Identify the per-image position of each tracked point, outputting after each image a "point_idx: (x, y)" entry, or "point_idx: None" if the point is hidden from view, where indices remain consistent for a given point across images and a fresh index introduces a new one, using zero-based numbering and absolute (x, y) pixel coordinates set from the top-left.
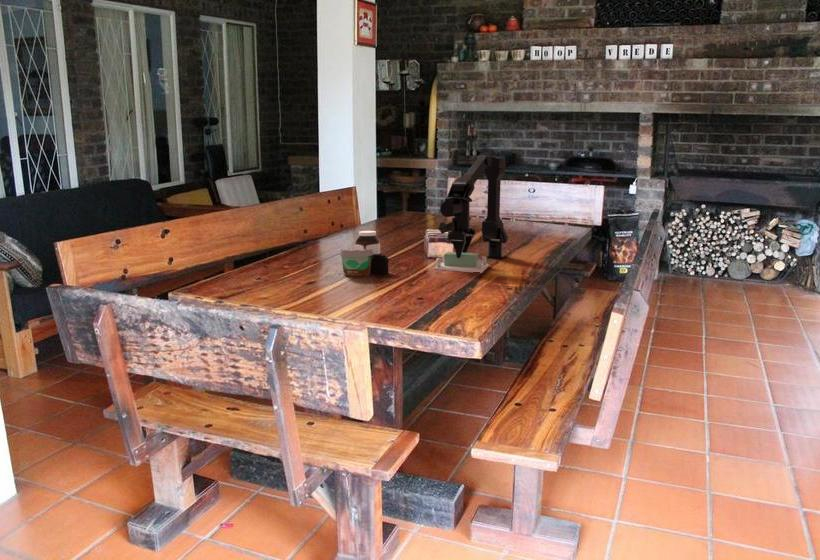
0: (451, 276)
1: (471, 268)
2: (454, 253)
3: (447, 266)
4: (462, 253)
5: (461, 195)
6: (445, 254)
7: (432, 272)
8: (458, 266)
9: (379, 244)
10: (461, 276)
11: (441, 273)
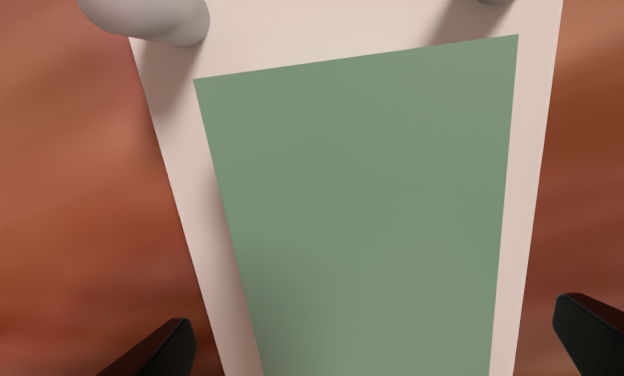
0: (12, 255)
1: (234, 361)
2: (339, 250)
3: None
4: (388, 361)
5: None
6: (203, 103)
7: (57, 13)
8: None
9: None
10: (63, 316)
11: (69, 129)
